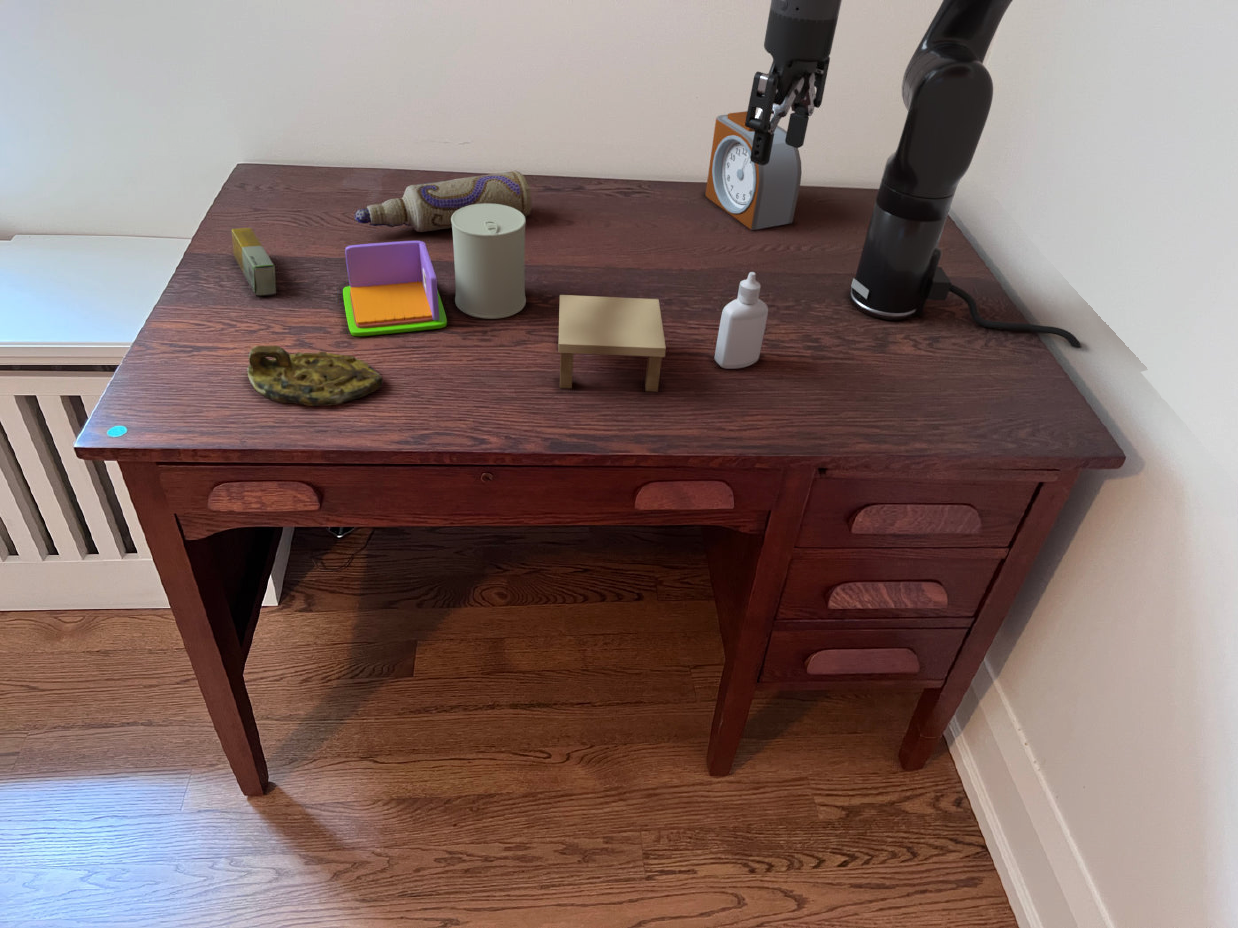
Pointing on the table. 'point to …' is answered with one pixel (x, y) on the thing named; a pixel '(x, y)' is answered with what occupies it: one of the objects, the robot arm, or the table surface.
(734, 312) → the eye dropper bottle
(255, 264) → the medication box
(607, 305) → the stand
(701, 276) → the table surface
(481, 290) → the can
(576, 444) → the table surface
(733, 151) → the alarm clock
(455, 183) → the decorative bottle
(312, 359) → the seal
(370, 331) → the dollhouse room
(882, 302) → the robot arm
